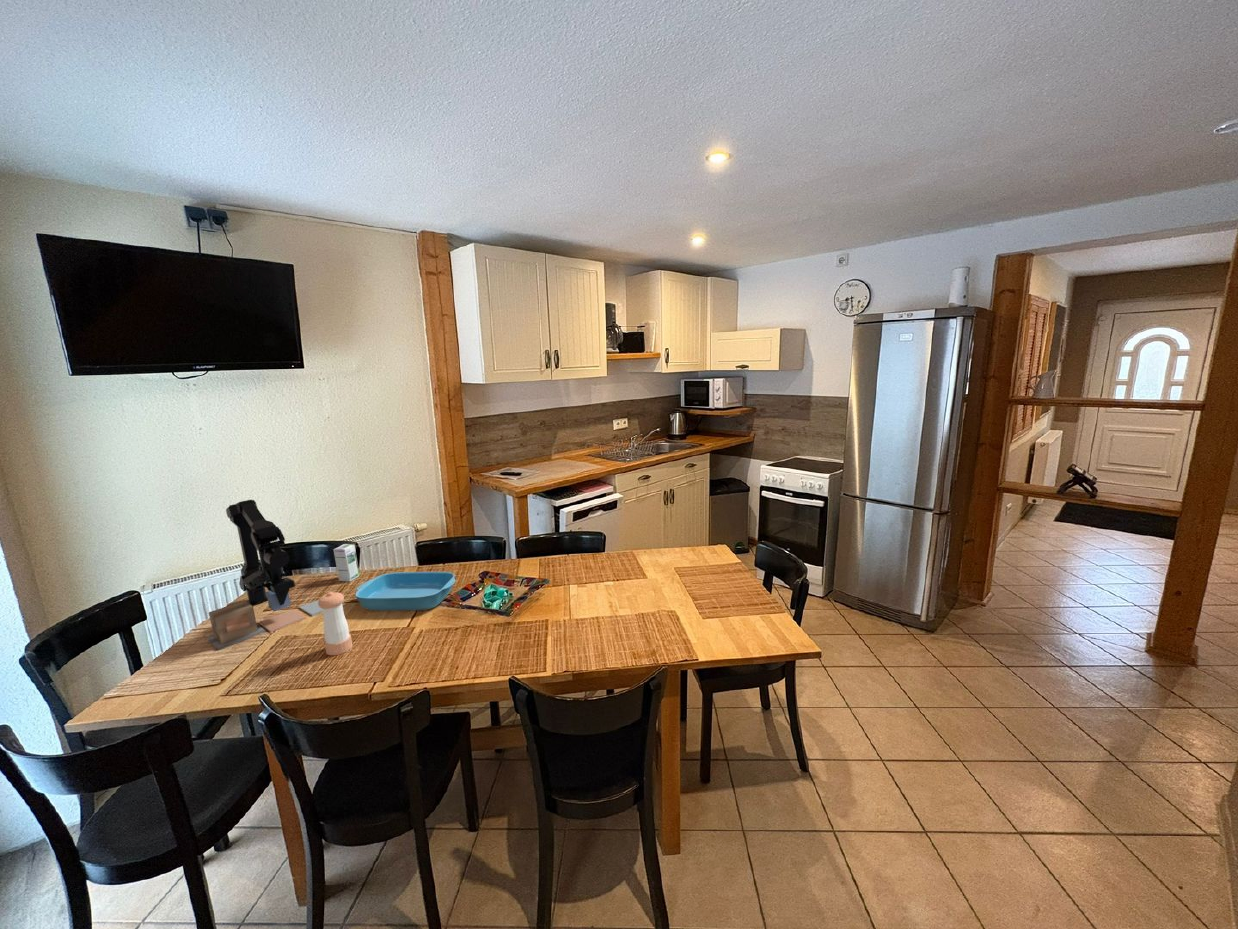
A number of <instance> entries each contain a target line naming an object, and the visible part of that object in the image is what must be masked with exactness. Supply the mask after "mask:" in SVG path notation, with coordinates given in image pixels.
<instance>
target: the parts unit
mask: <svg viewBox="0 0 1238 929" xmlns="http://www.w3.org/2000/svg"><path fill="white" fill-rule="evenodd" d="M208 616H209V620H210V621H209V622H210V624H211V628H212V633H213V635H211V636H209V637H207V641H208V642H209V643H210V644H211V645H212V646H213V647H214V648H215V649H216V650H218V651H220V650H222V649H226V648H228V647H230V646H233V645H235V644H238V643H241V642H243V641H247V640H249V639H251V638H253V637H256V636H259V635H261V634H264V633H265V632H266V629H265V628H264V627H263V626H262V627H261V626H260V624H259V623H257V620H256V614H255V610H254V605H253V606H252V605H251V604H249V603H248V602H246V600H245V599H243V600H241V601H239V602H236V603H233V604H230V605H226V606H224V607H221V608H217V609H215V610H212V611H209V612H208Z"/></svg>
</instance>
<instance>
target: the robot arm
mask: <svg viewBox="0 0 1238 929" xmlns="http://www.w3.org/2000/svg"><path fill="white" fill-rule="evenodd" d="M225 512H226V515H227V518H228V519H229V520H230V522H231V523H232V524H233V525H235V526H236V529H237V533H238V539H239V543H240V547H241V552H242V558H243V562H244V563H243V565H242V568H240V574H241V575H240V576H239V582H238V584H239V588H240V590H241V591H243V592H246V594H247V598H248V599H247V600H245V601H246V602H248V603H249V604H251V605H252V606H253V607H254V606H256V605H258V604H261V603H265V602H268V599H267V594H266V592H267V591H271V592H273V593H275V594H276V597H277V599H278V601H279V604H280V605H283V604H284V603H285V600H286V597H287V594H289V591H290V589H292V588H295V587H296V583H295V580H293V579H292V578H290V577H287V574H286V572H284V568H283V567H285V566H287V565H288V563H289V562H290V555H289V554H288V552H287V551H285V550H283V549H281V546H283V545H285V544H286V543H285V542H286V541H285V540H286V538H285V536H284V534H283V532H282V530H281V528H279V526H277V525H276V524H275V523H274V522H273V521H272V520H271V521H270V520H266V519H265V517H264V516H263V514H262V513H261V511H260V510H259V508H258V505H257V502H256V501H255V499H247V500H241V501H239V502H236V503H235V504H230V505H228V507H227V508H225ZM266 589H267V591H266Z"/></svg>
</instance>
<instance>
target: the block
mask: <svg viewBox="0 0 1238 929" xmlns="http://www.w3.org/2000/svg"><path fill="white" fill-rule="evenodd" d="M266 595H267V599H268V601H267V603H268V608H269V609H270V610H272V611H273V612H277V611H279V610H284V609H285V608H288V607H291V605H292V604H291V600H290V599H291V598H290V594H289V593H288V594H287V597H286V600H285V603H284V604H283V605H280V604H279V601H278V599H277V597H276V594H275V593H273V592H271V591H268V590H267V591H266Z"/></svg>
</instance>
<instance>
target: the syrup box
mask: <svg viewBox="0 0 1238 929" xmlns="http://www.w3.org/2000/svg"><path fill="white" fill-rule="evenodd" d="M332 550H333V555H334V561H335V566H336V570H337V575H338V576H337V577H338V581H341V582H353V581H354V580H355V579H357V578H360V576H361V573H360V569H359V563H358V558H357V552H356V546H355V544H353V543H344V544H343V543H342V545H339V546H338V547H336V548H333V549H332Z"/></svg>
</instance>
